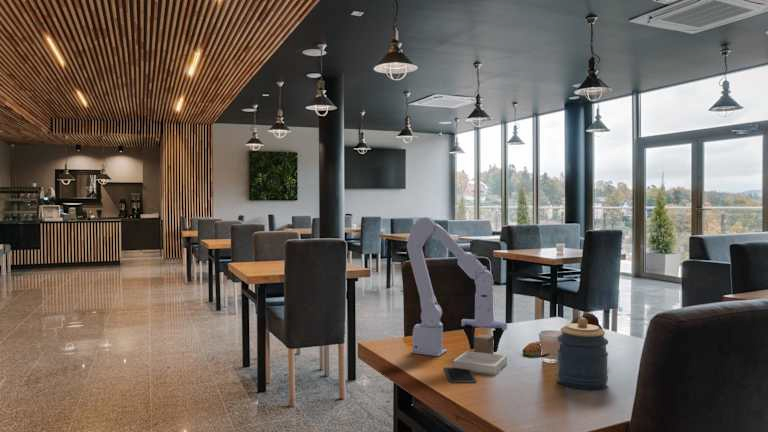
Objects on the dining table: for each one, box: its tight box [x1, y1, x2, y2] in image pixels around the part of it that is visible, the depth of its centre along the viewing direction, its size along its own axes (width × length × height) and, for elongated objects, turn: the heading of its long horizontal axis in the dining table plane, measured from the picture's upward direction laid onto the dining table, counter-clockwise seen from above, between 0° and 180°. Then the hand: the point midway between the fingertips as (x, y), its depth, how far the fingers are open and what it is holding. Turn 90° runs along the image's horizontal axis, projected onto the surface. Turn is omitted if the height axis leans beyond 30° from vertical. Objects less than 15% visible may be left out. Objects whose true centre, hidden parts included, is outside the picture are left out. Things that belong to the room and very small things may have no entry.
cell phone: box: [443, 366, 477, 384], centre depth 155 cm, size 7×14×1 cm, turn 1°
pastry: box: [522, 340, 542, 358], centre depth 179 cm, size 9×7×4 cm
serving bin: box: [452, 350, 508, 376], centre depth 164 cm, size 13×13×2 cm
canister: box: [556, 318, 609, 391], centre depth 149 cm, size 13×13×18 cm
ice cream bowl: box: [570, 312, 606, 337], centre depth 170 cm, size 11×11×15 cm
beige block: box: [473, 333, 494, 354], centre depth 177 cm, size 4×6×6 cm
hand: (483, 350), depth 177 cm, fingers open, 7 cm apart
